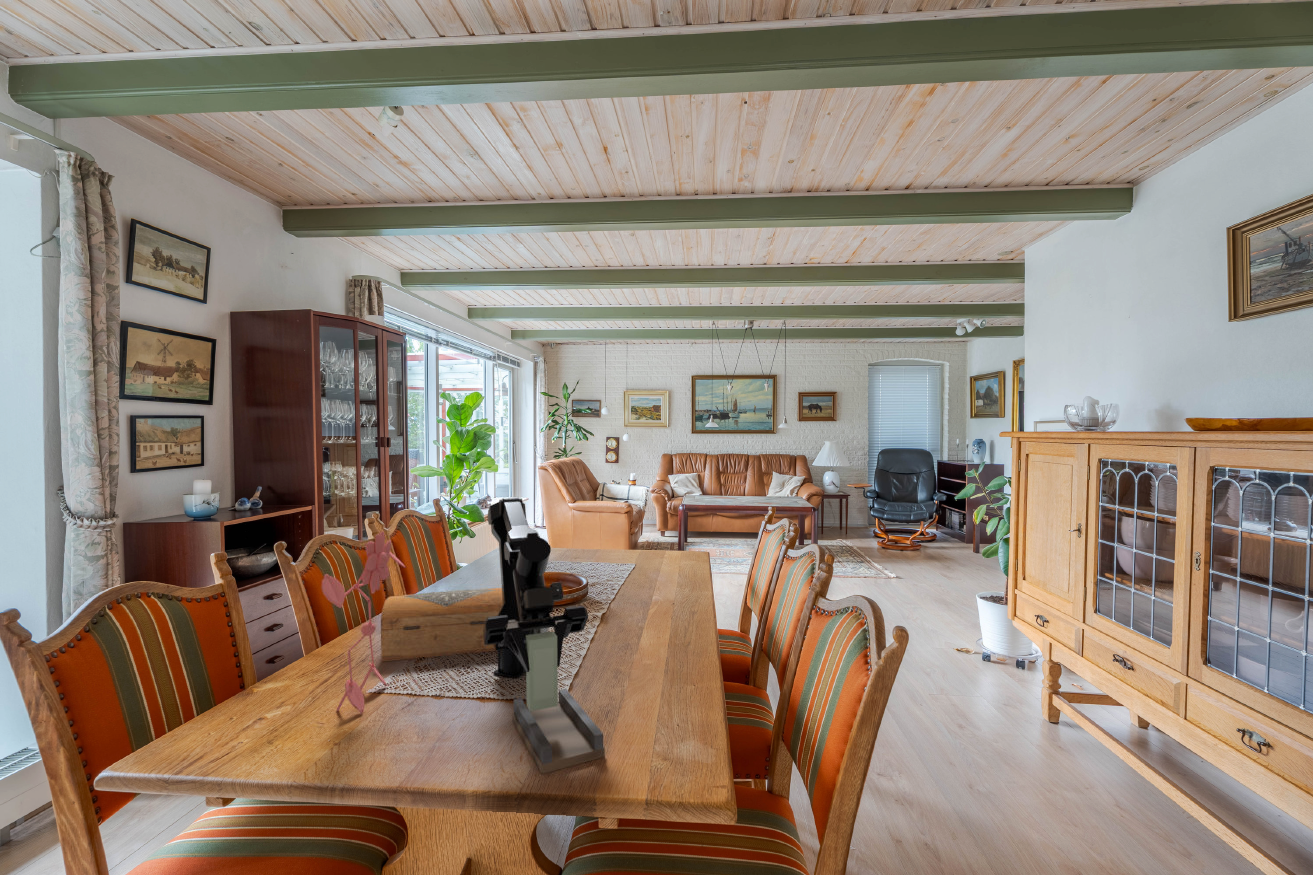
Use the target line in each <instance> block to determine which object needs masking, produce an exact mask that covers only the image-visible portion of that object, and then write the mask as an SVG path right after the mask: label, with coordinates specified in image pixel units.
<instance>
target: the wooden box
mask: <svg viewBox="0 0 1313 875" xmlns="http://www.w3.org/2000/svg"><path fill="white" fill-rule="evenodd" d="M502 605H503V600H502V587H494V588H479V589H478V588H477V589H461V590H445V591H437V592H423V593H416V594H415V593H414V594H413V593H411V594H402V595H392V596H388V597H386V599H385V601H384V603H383V606H382V610H381V614H380V615H381V616H380V653H381V654H380V655H381V662H392V661H401V660H412V659H414V658H415V659H423V658H422V657H425V658H432V657H433V658H434V657H435V658H436V657H444V656H443V655H446V656H454V655H453V654H457V655H465V653H467V654H476V653H484V652H495V651H497V652H498V650H495V647H494V645H493V644H492V645H485V644H484V638H483V630H484V624H485V620H486V619H487V618H488V617H494V616H497V615H498V613H499V611H500V609H501V607H502ZM463 653H464V654H463ZM419 657H420V658H419Z"/></svg>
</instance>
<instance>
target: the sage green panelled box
mask: <svg viewBox="0 0 1313 875" xmlns="http://www.w3.org/2000/svg"><path fill="white" fill-rule="evenodd" d="M526 652H527V656H528V660H529V667H530V670H529V672H525V673H526V674H525V675H526V676H525V677H526V678H525V679H526V680H525V684H526V707H527V708H528V709H529V711H534V710H540V709H545V708H550V707H555V706H558V703H559V689H558V687H559V686H558V685H559V682H558V680H559V678H558V667H557V636H556V634H555V633H554V631H553V630H552V631H548V632H545V633H538V634H531V635H526Z"/></svg>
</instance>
